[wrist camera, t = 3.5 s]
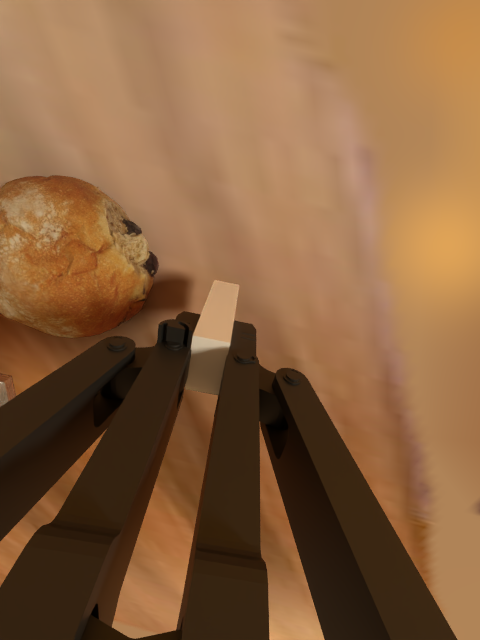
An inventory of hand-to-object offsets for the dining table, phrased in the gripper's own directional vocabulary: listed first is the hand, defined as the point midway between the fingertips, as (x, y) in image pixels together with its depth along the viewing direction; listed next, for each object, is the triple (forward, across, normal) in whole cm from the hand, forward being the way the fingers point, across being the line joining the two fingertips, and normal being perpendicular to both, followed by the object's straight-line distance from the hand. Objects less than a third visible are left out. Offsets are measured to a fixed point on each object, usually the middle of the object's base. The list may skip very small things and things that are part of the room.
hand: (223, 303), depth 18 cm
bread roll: (+4, +10, 0) cm, 11 cm away
